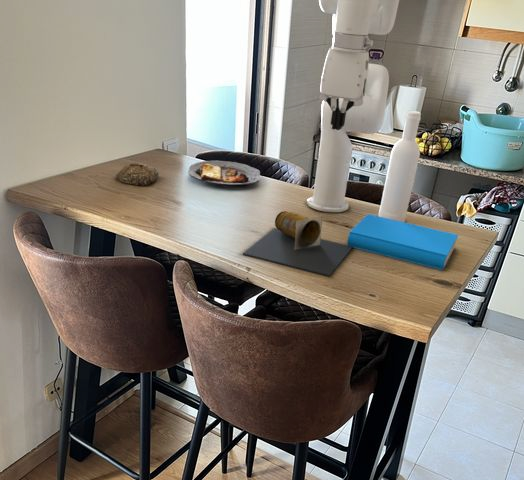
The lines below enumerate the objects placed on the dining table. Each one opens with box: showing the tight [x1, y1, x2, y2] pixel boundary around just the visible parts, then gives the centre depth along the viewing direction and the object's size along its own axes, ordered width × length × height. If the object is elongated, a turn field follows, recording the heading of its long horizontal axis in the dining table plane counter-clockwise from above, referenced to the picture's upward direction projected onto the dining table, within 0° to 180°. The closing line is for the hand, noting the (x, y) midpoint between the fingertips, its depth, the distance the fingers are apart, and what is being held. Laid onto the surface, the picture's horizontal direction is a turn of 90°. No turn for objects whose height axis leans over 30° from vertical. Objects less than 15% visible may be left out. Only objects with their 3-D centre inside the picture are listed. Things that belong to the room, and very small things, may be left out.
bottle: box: [378, 110, 422, 223], centre depth 156 cm, size 8×8×30 cm
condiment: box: [274, 210, 323, 250], centre depth 144 cm, size 7×8×12 cm
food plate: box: [187, 160, 261, 186], centre depth 185 cm, size 25×23×4 cm
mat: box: [242, 227, 354, 278], centre depth 140 cm, size 20×22×1 cm
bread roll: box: [115, 162, 159, 187], centre depth 176 cm, size 13×12×5 cm
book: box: [346, 213, 459, 271], centre depth 147 cm, size 17×4×25 cm
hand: (336, 128), depth 136 cm, fingers closed
